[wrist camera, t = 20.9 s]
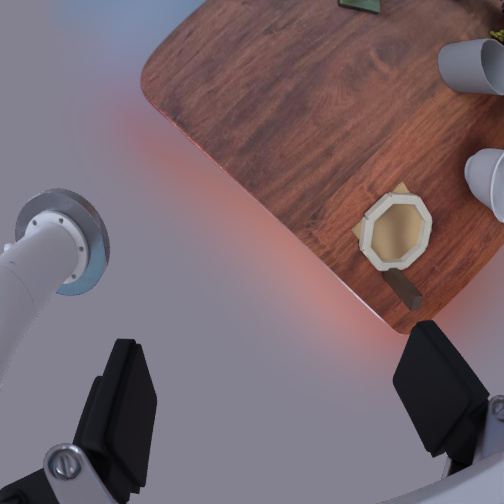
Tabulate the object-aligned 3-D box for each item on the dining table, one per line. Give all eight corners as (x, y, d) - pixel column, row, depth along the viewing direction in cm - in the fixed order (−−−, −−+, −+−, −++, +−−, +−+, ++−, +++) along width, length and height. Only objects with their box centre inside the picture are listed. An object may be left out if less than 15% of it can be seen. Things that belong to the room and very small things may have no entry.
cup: (429, 63, 34) (472, 59, 25) (450, 35, 31) (491, 28, 22) (460, 102, 36) (503, 106, 27) (479, 73, 34) (520, 74, 25)
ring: (365, 190, 42) (399, 212, 33) (431, 194, 42) (471, 215, 33) (353, 278, 48) (378, 315, 39) (415, 274, 48) (446, 305, 39)
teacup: (468, 228, 46) (503, 251, 37) (441, 161, 41) (482, 176, 32) (504, 190, 43) (540, 207, 34) (481, 124, 38) (522, 133, 29)
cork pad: (385, 273, 48) (386, 274, 48) (350, 229, 44) (351, 230, 44) (431, 229, 46) (432, 230, 45) (401, 181, 42) (402, 181, 41)
